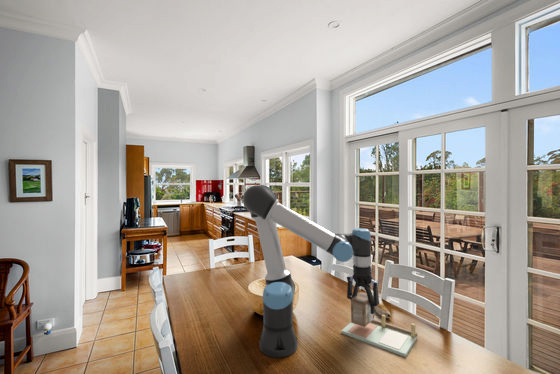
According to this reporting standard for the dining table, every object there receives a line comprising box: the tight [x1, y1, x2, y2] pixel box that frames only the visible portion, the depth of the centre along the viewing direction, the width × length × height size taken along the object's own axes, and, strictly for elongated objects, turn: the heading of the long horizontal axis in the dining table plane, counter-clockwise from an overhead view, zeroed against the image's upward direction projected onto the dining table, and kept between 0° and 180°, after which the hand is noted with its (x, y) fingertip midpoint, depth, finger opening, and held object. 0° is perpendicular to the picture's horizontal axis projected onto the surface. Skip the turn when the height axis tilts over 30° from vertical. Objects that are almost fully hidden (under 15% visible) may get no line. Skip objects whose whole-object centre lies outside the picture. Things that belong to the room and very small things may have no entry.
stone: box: [375, 302, 392, 319], centre depth 135 cm, size 5×14×4 cm, turn 4°
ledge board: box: [341, 315, 418, 358], centre depth 115 cm, size 26×16×6 cm, turn 50°
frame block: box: [350, 291, 375, 327], centre depth 119 cm, size 10×6×10 cm, turn 140°
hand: (363, 318), depth 119 cm, fingers closed on frame block, 6 cm apart
